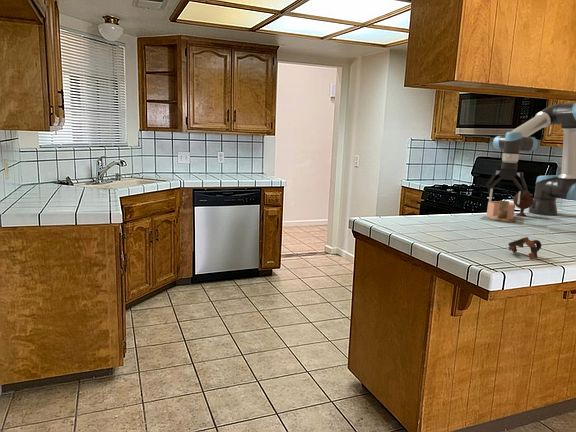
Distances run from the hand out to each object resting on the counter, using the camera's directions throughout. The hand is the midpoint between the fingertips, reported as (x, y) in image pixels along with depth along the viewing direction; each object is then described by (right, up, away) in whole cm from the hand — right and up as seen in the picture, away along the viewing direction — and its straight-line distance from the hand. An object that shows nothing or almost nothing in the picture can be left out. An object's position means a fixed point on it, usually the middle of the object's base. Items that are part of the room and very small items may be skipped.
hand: (503, 202), depth 236 cm
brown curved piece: (-25, -22, -69) cm, 76 cm away
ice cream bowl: (+21, -7, +23) cm, 32 cm away
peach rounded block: (0, -9, +2) cm, 10 cm away
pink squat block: (+5, -8, +14) cm, 17 cm away
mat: (0, -10, +2) cm, 10 cm away
